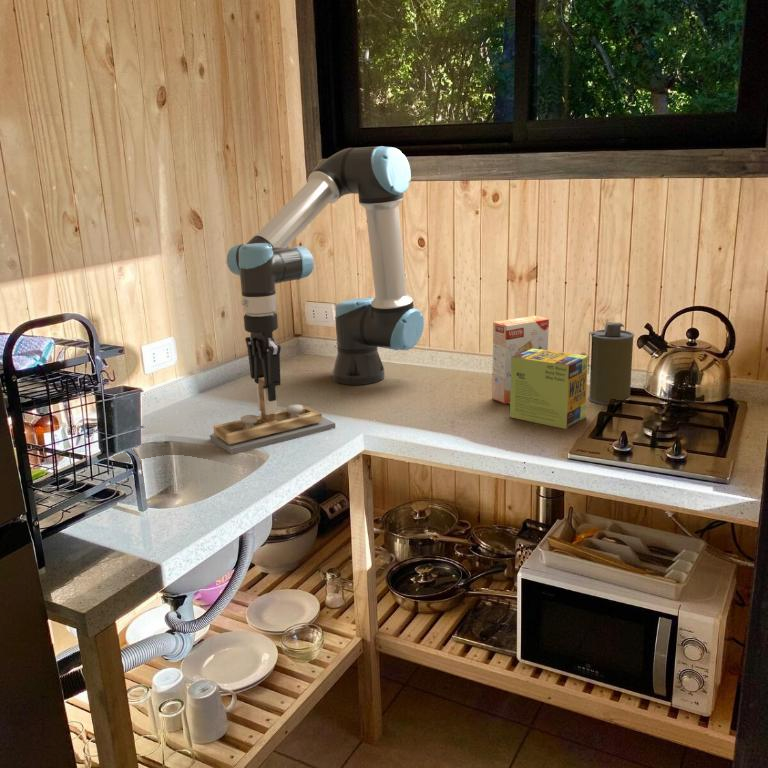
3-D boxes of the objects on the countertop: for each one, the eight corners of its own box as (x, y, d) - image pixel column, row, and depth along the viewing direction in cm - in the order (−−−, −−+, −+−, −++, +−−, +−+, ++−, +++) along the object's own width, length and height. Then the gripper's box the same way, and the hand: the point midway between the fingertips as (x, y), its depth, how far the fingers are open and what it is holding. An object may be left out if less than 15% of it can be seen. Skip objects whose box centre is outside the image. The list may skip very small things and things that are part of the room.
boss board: (310, 415, 201) (309, 395, 200) (335, 427, 192) (334, 406, 190) (210, 439, 187) (208, 417, 185) (231, 454, 177) (229, 431, 176)
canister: (627, 393, 210) (631, 319, 204) (633, 405, 200) (637, 328, 194) (584, 393, 212) (587, 319, 206) (589, 405, 202) (592, 328, 196)
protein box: (567, 429, 185) (569, 365, 181) (509, 417, 195) (509, 356, 190) (586, 417, 193) (589, 355, 189) (530, 406, 203) (531, 347, 198)
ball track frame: (304, 412, 198) (301, 366, 195) (322, 421, 191) (319, 373, 188) (214, 434, 185) (209, 384, 182) (229, 444, 178) (224, 392, 175)
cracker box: (505, 405, 204) (506, 325, 198) (491, 399, 209) (491, 321, 203) (547, 395, 211) (549, 318, 205) (533, 390, 216) (534, 314, 210)
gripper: (230, 310, 185) (238, 406, 191) (261, 320, 172) (269, 423, 179) (259, 305, 189) (266, 400, 196) (291, 315, 176) (298, 416, 183)
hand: (267, 411), depth 187 cm, fingers closed on ball track frame, 3 cm apart
